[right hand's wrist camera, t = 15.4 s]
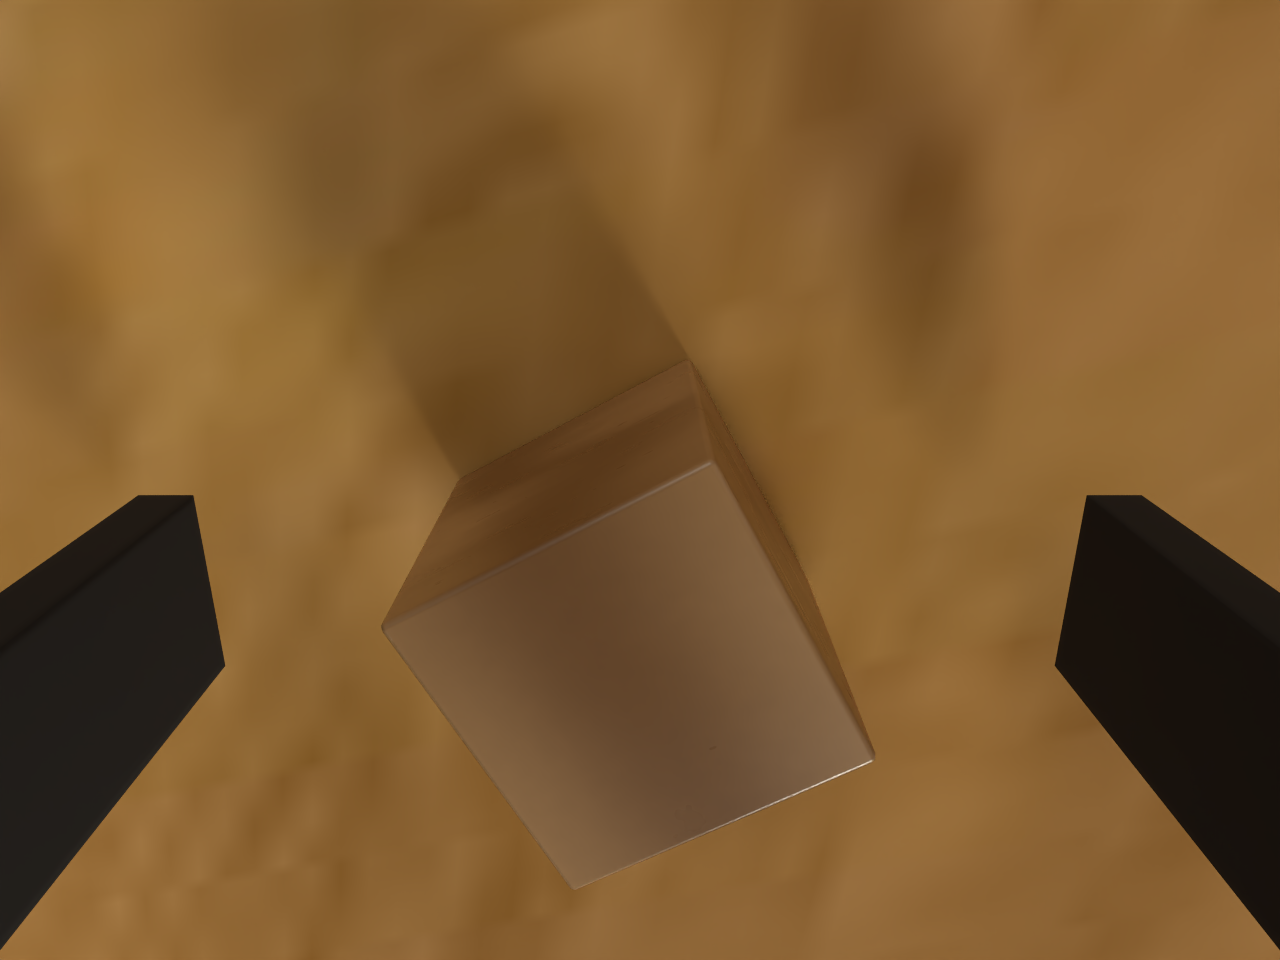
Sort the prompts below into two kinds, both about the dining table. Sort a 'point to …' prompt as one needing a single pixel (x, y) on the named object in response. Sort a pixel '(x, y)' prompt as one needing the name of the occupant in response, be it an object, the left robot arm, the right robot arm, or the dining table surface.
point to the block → (627, 634)
